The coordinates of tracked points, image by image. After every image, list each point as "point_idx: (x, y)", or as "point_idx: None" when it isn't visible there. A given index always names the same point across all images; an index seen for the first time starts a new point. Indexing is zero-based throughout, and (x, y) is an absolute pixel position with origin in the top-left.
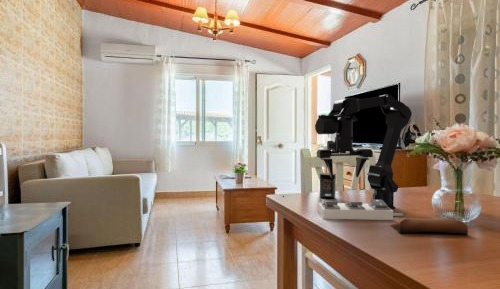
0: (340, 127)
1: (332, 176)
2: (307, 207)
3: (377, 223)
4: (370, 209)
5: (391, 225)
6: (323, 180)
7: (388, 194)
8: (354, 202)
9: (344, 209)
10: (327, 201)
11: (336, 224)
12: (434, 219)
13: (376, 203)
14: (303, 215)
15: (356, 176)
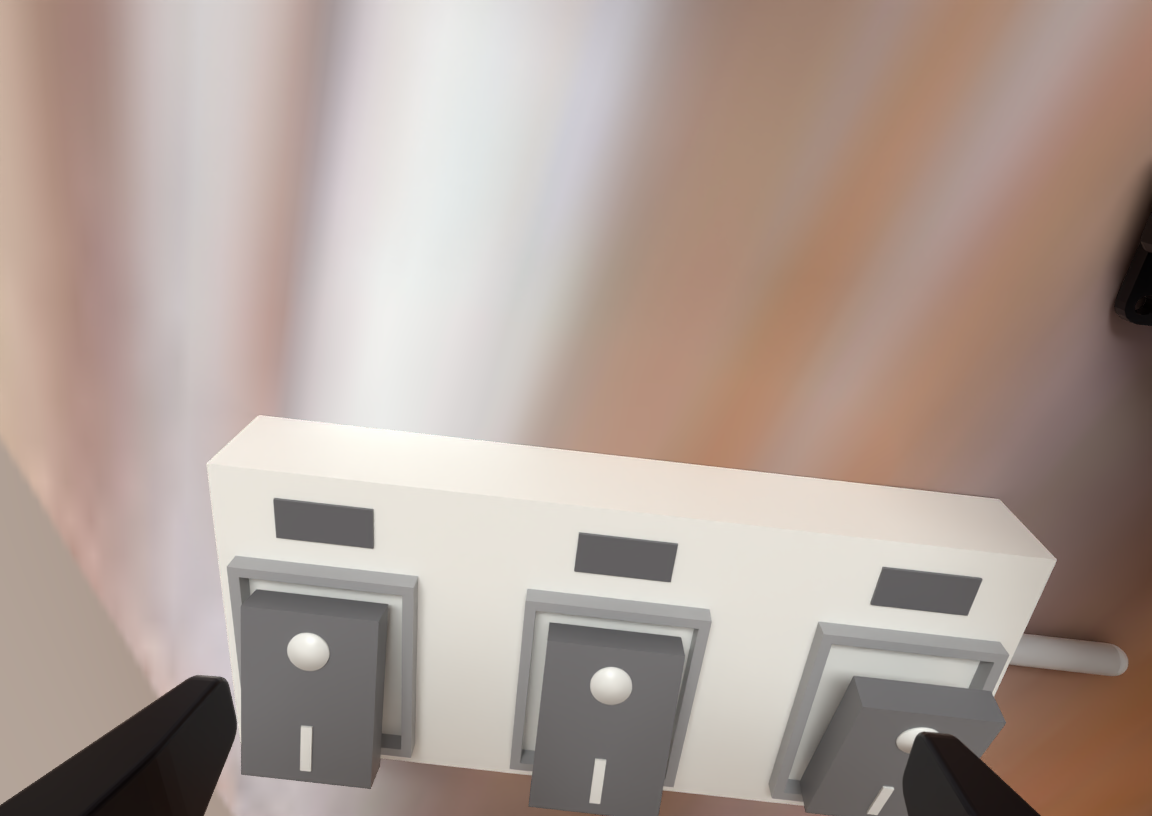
0: None
1: (220, 765)
2: (126, 202)
3: (701, 802)
4: (730, 773)
5: None
6: None
7: None
8: (567, 808)
9: (457, 756)
10: (278, 675)
11: (364, 800)
12: None
13: (842, 786)
14: (95, 563)
15: (915, 764)
